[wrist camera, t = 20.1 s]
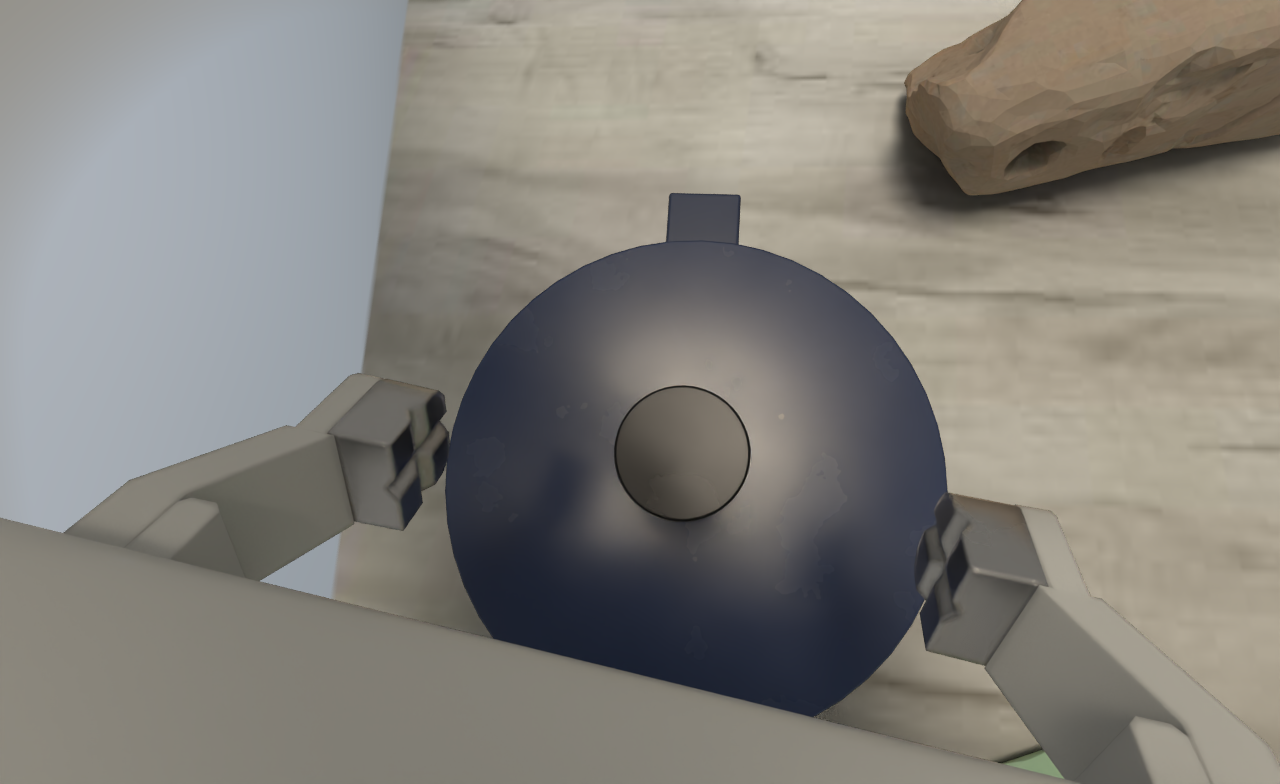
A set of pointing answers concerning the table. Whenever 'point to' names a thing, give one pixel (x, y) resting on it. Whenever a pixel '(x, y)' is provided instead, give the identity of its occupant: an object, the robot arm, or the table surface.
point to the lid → (697, 476)
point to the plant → (1036, 764)
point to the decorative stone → (1096, 87)
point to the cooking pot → (703, 217)
